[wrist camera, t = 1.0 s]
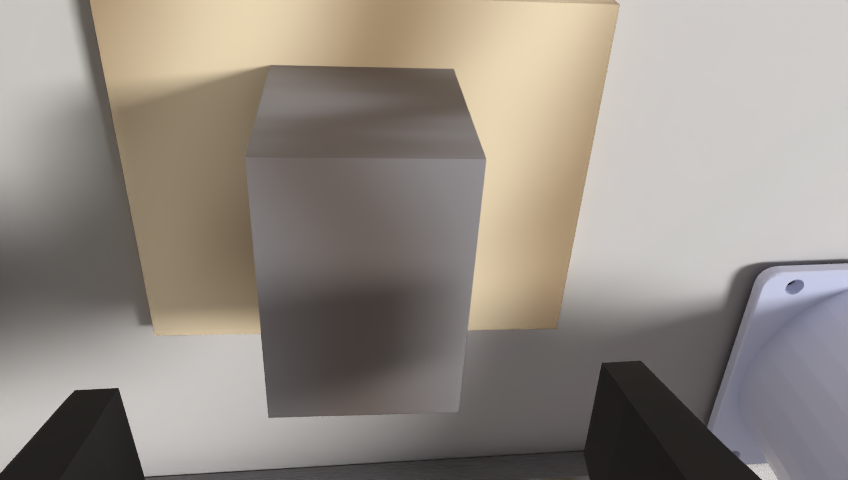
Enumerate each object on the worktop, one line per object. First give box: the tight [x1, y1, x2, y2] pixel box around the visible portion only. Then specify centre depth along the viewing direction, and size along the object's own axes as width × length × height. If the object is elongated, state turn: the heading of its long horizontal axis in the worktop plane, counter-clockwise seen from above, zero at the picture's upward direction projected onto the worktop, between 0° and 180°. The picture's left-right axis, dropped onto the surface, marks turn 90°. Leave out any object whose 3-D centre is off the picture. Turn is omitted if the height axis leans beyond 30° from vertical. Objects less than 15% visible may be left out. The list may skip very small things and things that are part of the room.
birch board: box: [90, 0, 620, 418], centre depth 16 cm, size 11×9×6 cm
